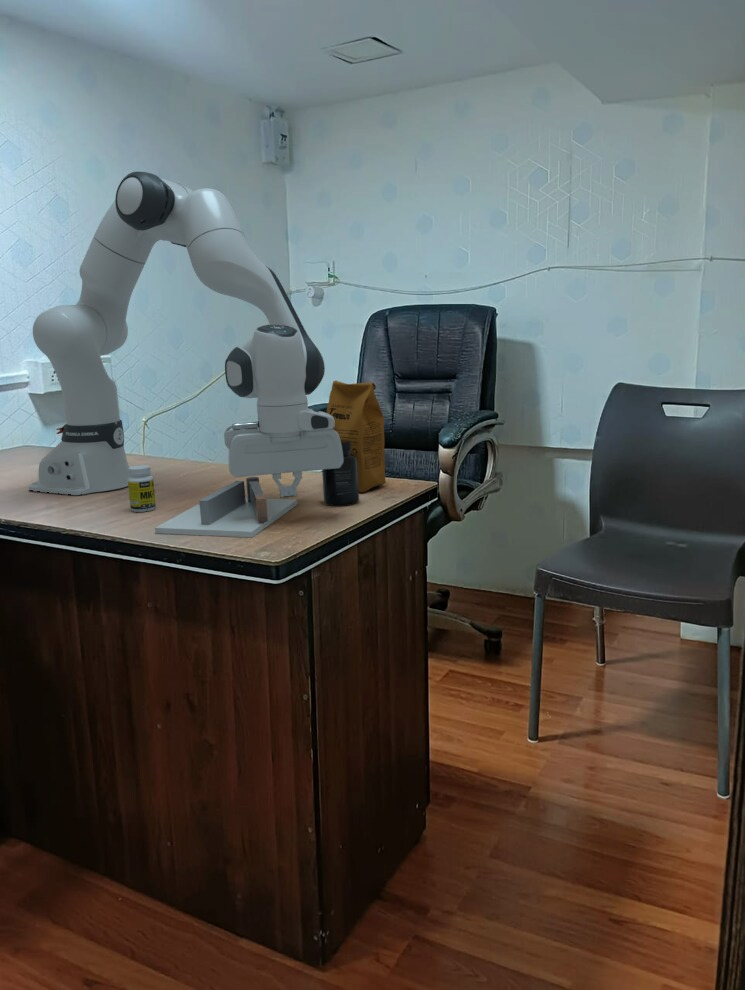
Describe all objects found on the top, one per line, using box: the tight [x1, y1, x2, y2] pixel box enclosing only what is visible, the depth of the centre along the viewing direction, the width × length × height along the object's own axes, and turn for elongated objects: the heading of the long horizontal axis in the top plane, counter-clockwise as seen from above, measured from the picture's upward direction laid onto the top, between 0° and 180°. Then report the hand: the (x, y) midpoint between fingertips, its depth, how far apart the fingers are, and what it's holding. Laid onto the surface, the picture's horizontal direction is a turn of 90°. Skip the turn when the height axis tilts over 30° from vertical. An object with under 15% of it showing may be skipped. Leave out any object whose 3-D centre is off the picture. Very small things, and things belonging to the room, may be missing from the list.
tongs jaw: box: [249, 481, 268, 522], centre depth 145 cm, size 2×16×4 cm, turn 13°
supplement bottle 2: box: [321, 439, 360, 507], centre depth 154 cm, size 7×7×12 cm
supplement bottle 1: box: [127, 464, 157, 513], centre depth 154 cm, size 5×5×8 cm
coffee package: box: [326, 380, 386, 493], centre depth 165 cm, size 10×12×22 cm
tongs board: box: [154, 476, 298, 538], centre depth 146 cm, size 18×22×6 cm
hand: (288, 496), depth 143 cm, fingers closed
